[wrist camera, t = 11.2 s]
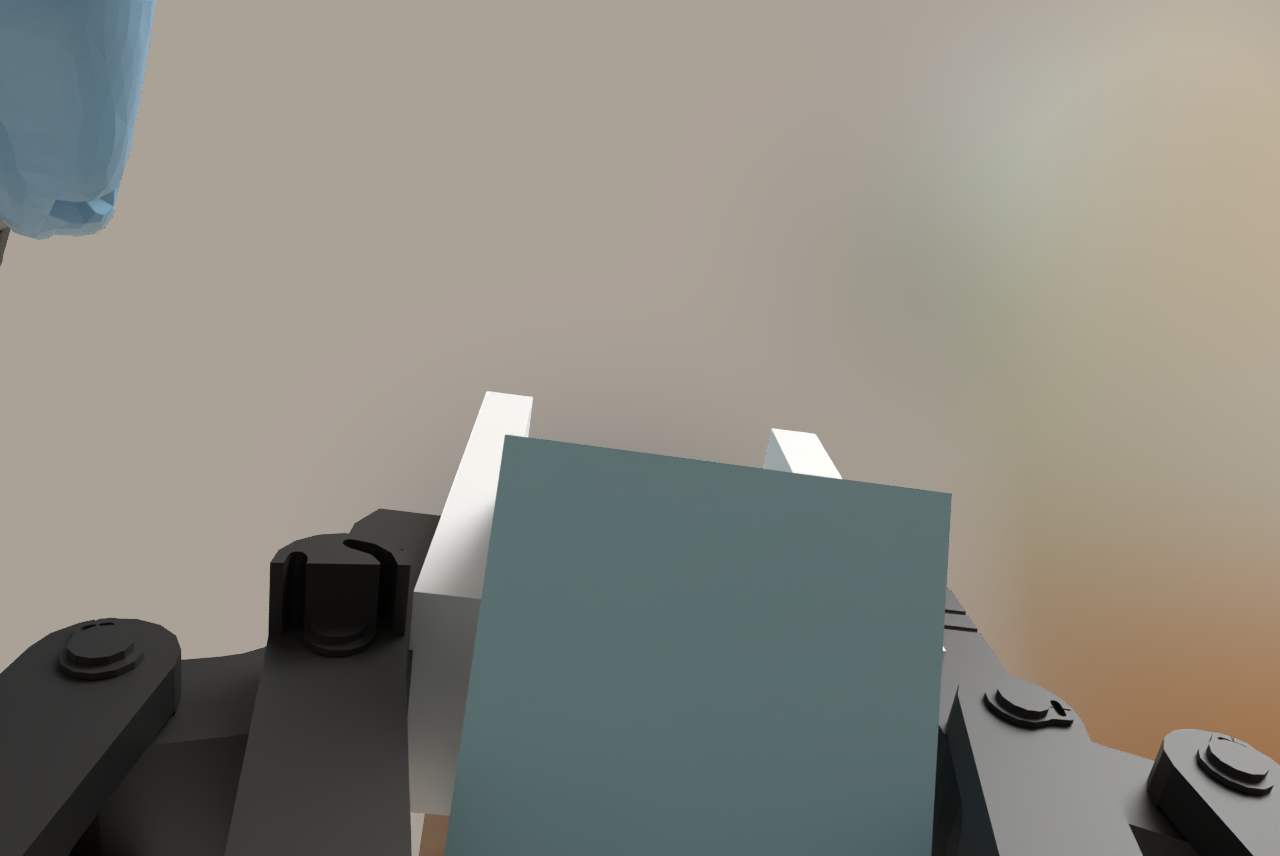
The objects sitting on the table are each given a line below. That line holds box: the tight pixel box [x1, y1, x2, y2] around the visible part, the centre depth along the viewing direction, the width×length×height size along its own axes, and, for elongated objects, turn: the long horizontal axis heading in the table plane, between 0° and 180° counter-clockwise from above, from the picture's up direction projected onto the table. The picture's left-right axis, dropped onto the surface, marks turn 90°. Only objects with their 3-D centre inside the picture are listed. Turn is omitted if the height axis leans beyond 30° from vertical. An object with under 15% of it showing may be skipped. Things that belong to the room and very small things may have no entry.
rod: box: [444, 434, 952, 856], centre depth 20 cm, size 4×24×4 cm, turn 6°
